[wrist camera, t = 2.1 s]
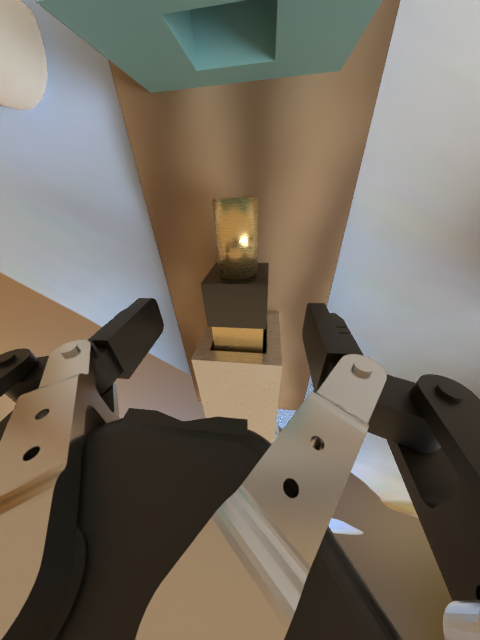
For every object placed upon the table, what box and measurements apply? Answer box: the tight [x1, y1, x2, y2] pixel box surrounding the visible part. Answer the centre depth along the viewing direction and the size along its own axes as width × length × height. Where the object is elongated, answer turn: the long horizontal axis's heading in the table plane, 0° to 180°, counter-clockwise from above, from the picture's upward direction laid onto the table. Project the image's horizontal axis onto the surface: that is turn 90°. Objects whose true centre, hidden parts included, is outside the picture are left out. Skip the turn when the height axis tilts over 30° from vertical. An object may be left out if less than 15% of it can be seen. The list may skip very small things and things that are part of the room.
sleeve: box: [191, 312, 282, 444], centre depth 19 cm, size 6×14×6 cm, turn 2°
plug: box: [201, 196, 269, 354], centre depth 16 cm, size 4×22×4 cm, turn 2°
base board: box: [108, 0, 400, 410], centre depth 17 cm, size 14×36×2 cm, turn 2°
